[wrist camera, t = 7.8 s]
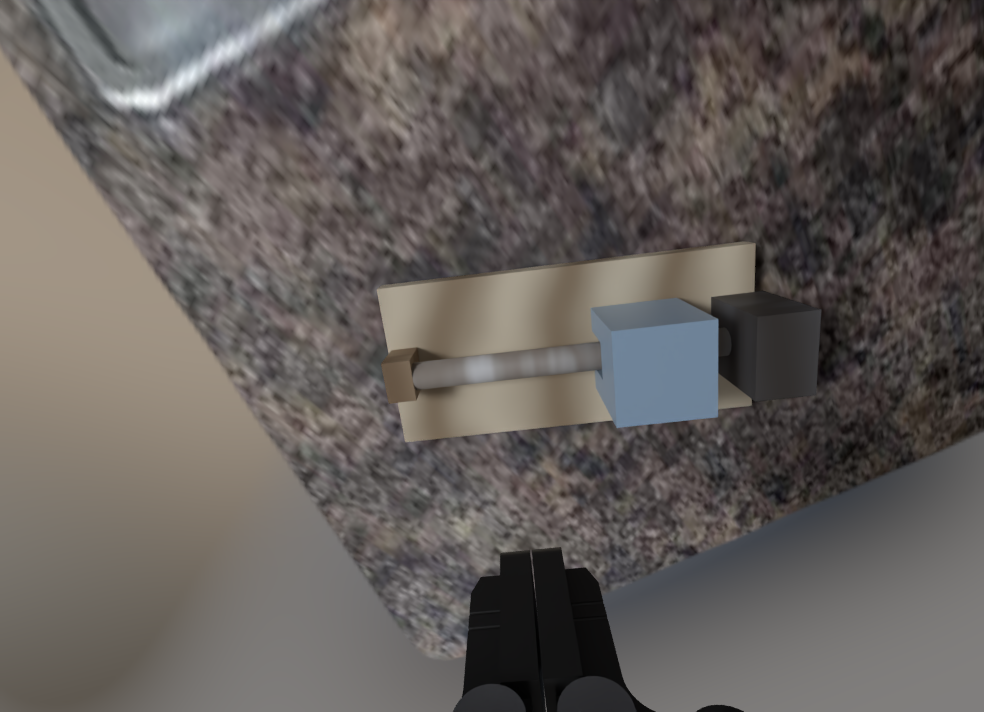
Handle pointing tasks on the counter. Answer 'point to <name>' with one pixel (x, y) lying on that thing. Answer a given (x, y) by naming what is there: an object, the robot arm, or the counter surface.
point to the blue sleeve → (657, 362)
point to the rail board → (576, 339)
